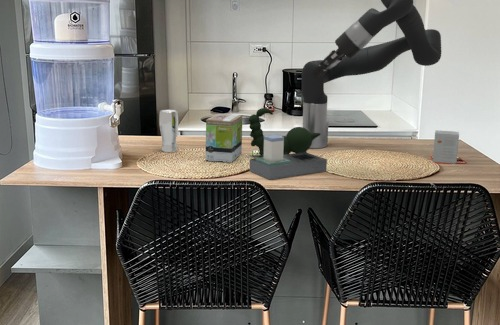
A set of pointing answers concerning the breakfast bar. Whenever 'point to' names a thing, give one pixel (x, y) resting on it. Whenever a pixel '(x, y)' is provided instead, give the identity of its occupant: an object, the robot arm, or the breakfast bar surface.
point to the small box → (445, 146)
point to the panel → (288, 166)
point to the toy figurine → (293, 141)
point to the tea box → (223, 137)
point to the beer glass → (169, 130)
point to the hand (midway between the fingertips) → (315, 75)
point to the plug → (273, 148)
